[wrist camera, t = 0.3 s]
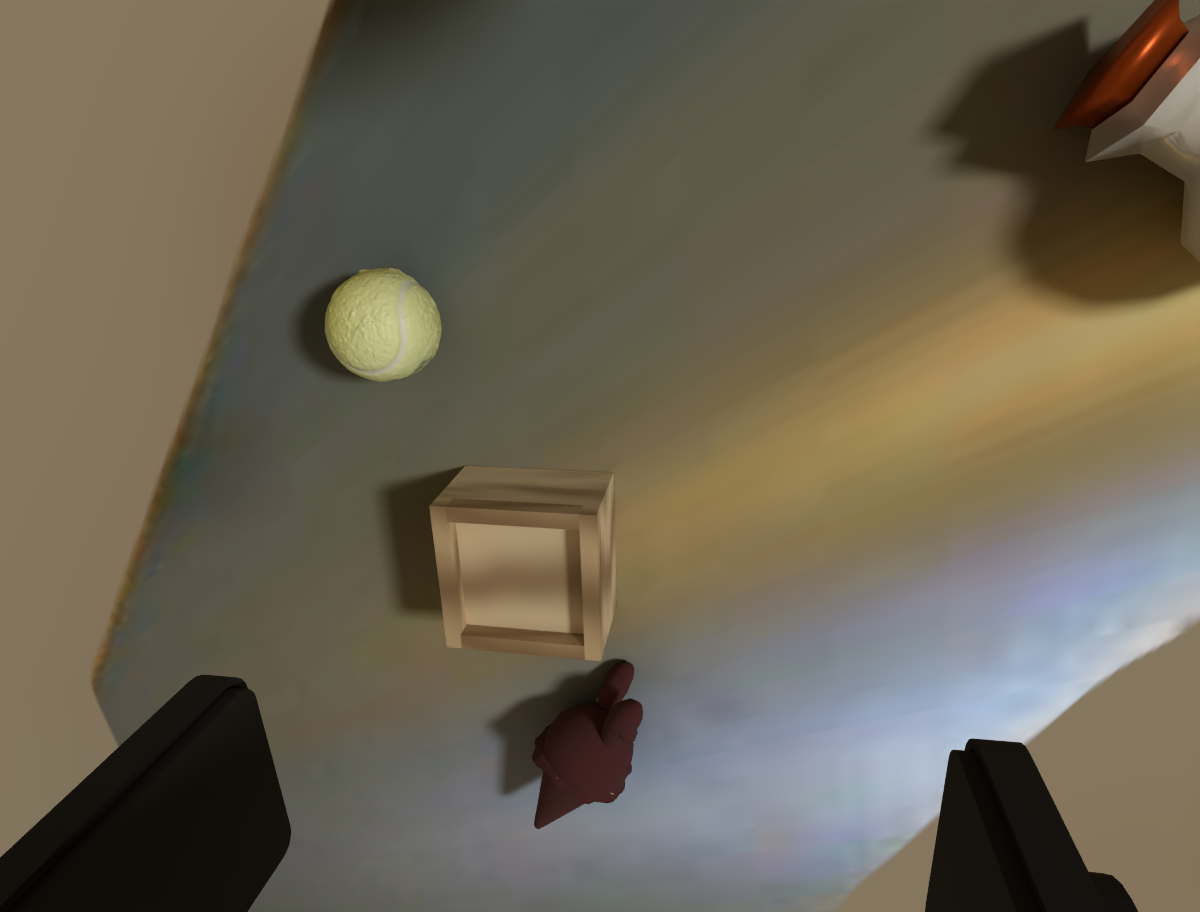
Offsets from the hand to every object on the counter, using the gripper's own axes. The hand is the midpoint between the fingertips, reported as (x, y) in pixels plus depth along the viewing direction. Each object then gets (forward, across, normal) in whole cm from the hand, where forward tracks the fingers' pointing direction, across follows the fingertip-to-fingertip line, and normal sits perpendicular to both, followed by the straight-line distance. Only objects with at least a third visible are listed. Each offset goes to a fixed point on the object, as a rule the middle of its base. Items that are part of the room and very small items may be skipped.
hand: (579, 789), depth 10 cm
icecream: (+36, +8, +31) cm, 48 cm away
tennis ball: (+36, +18, 0) cm, 40 cm away
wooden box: (+36, +11, +15) cm, 40 cm away
